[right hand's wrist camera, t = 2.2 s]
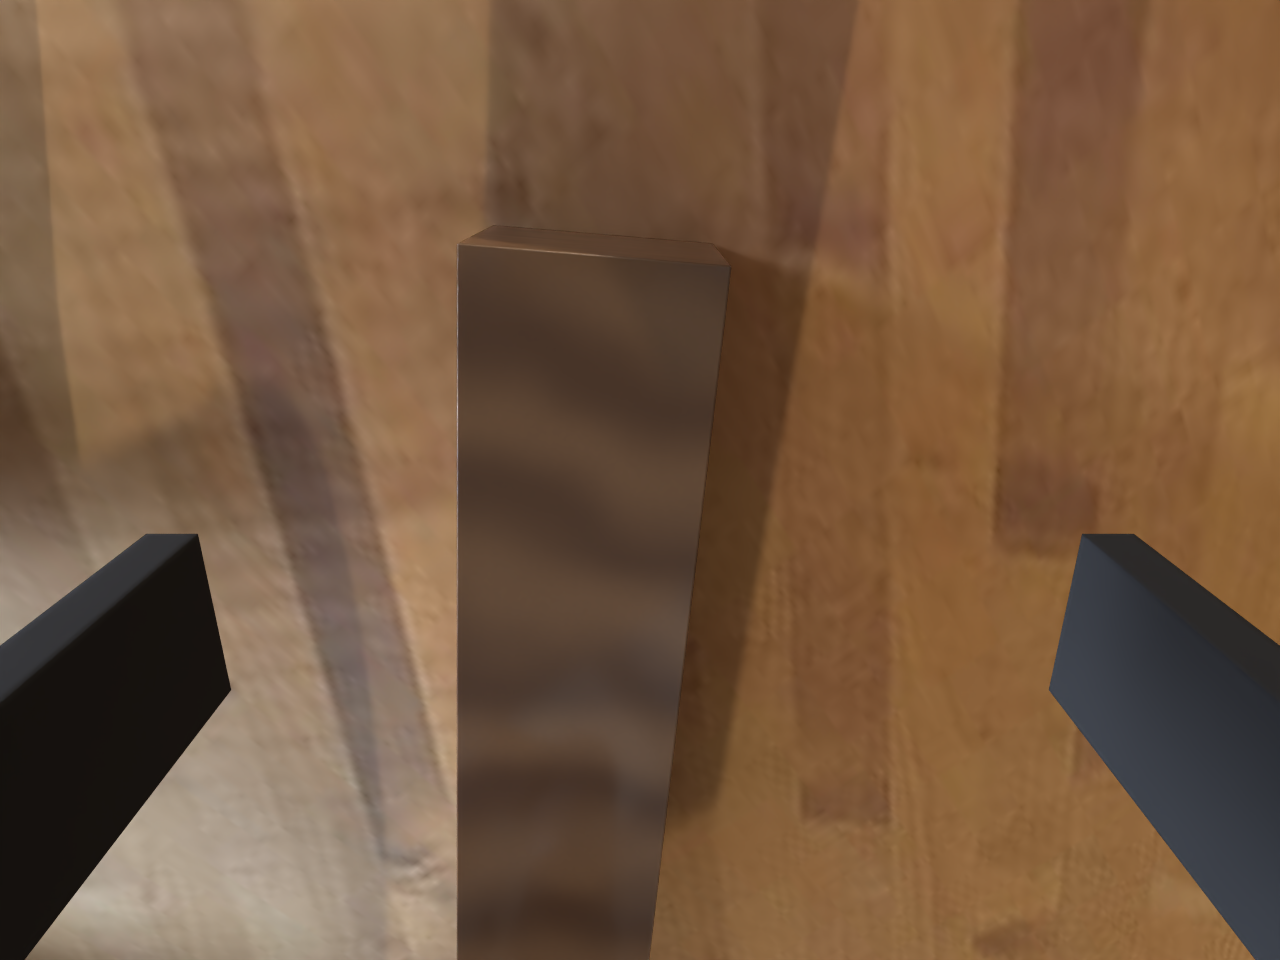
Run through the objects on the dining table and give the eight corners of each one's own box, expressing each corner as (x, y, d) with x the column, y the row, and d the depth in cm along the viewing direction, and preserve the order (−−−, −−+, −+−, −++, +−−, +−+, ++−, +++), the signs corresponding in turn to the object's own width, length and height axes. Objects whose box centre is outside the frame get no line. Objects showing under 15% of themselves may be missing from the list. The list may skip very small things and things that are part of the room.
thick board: (492, 225, 35) (456, 242, 28) (713, 243, 36) (731, 265, 29) (478, 1141, 58) (456, 1276, 51) (614, 1147, 58) (611, 1282, 51)
